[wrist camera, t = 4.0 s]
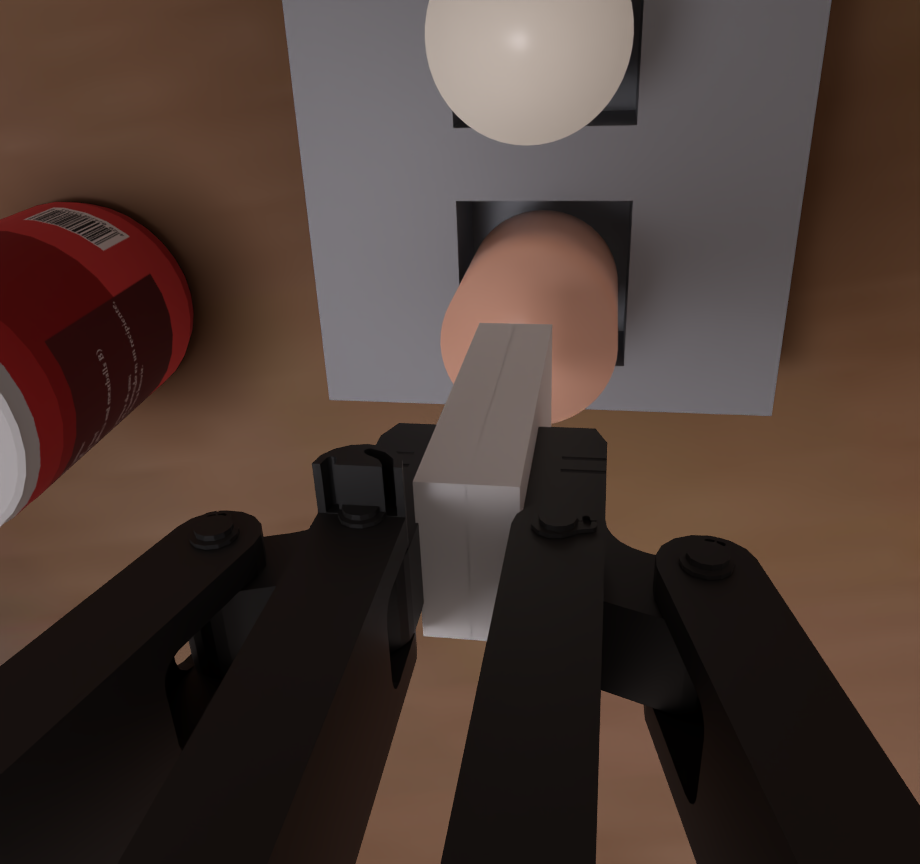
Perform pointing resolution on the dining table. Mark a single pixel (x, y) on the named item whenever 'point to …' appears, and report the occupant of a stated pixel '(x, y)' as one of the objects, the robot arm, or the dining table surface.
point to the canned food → (79, 336)
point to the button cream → (528, 63)
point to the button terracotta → (543, 301)
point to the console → (564, 195)
